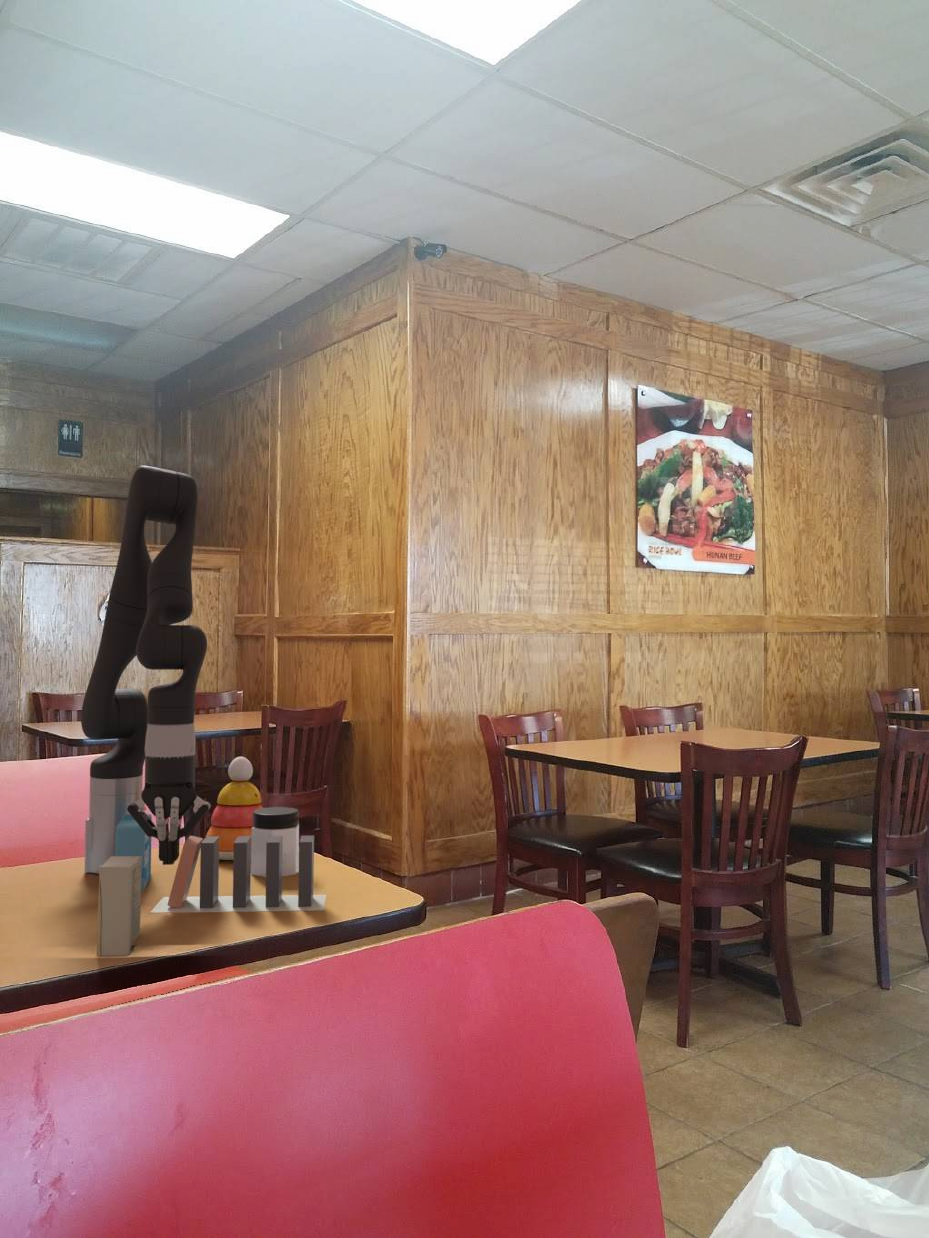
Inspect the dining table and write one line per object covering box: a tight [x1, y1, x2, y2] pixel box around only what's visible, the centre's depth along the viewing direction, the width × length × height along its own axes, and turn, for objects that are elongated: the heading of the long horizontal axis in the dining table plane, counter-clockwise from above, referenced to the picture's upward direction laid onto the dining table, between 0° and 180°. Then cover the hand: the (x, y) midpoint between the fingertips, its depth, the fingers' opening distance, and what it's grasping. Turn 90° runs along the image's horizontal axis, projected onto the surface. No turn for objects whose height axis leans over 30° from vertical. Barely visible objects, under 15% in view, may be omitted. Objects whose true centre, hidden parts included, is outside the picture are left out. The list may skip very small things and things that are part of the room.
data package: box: [115, 813, 153, 892], centre depth 163 cm, size 12×4×12 cm, turn 13°
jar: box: [250, 806, 300, 878], centre depth 172 cm, size 9×8×12 cm
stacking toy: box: [205, 756, 264, 861], centre depth 190 cm, size 14×14×20 cm
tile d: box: [265, 836, 283, 907], centre depth 152 cm, size 2×5×10 cm, turn 5°
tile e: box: [297, 835, 315, 907], centre depth 152 cm, size 2×5×10 cm, turn 5°
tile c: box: [232, 836, 251, 908], centre depth 151 cm, size 2×5×10 cm, turn 5°
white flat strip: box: [149, 894, 327, 914], centre depth 151 cm, size 26×9×1 cm, turn 95°
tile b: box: [199, 836, 220, 908], centre depth 151 cm, size 2×5×10 cm, turn 5°
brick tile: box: [167, 835, 204, 908], centre depth 150 cm, size 2×5×10 cm, turn 5°
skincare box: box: [96, 856, 142, 957], centre depth 132 cm, size 6×4×12 cm
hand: (168, 863), depth 150 cm, fingers closed
